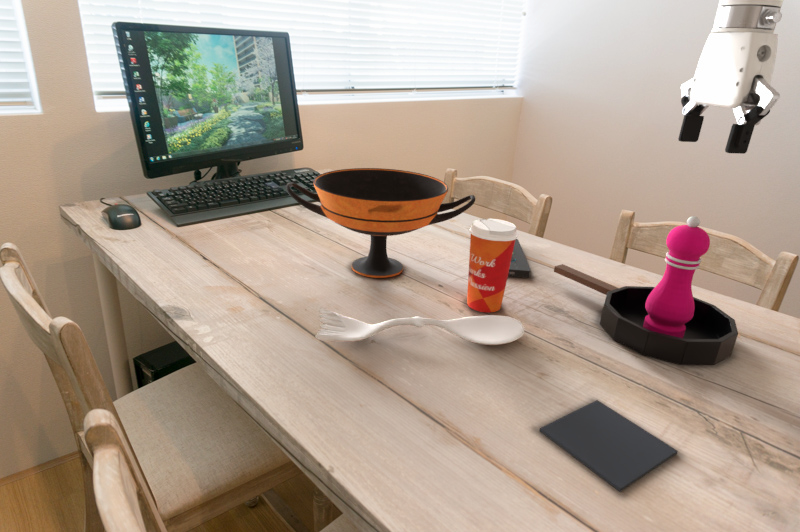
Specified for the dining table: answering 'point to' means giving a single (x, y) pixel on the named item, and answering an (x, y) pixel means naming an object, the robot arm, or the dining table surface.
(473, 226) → the coffee cup
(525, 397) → the dining table surface
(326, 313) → the spoon
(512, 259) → the smart home device
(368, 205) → the cup
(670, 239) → the pepper mill
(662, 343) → the pan
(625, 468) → the slate mat
